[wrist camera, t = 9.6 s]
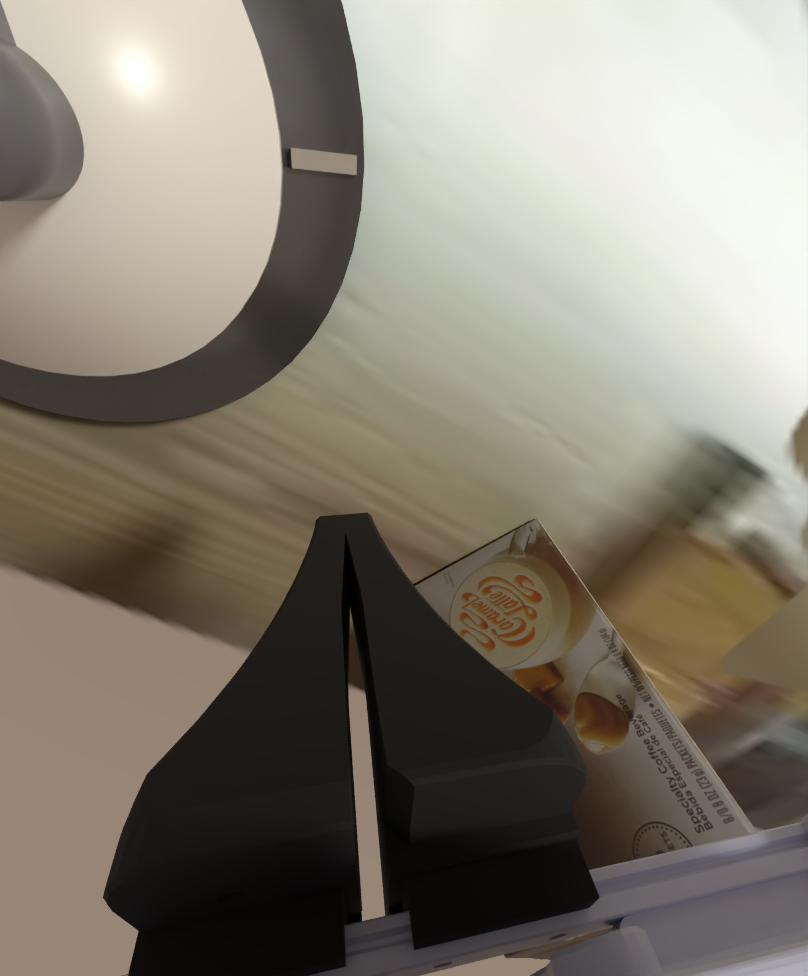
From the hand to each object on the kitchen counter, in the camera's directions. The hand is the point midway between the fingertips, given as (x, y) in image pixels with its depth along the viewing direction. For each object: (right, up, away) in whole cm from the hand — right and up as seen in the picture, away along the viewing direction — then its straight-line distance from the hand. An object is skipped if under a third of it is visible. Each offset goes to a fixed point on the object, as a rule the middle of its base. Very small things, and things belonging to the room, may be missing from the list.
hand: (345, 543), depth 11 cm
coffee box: (+7, -4, +16) cm, 18 cm away
